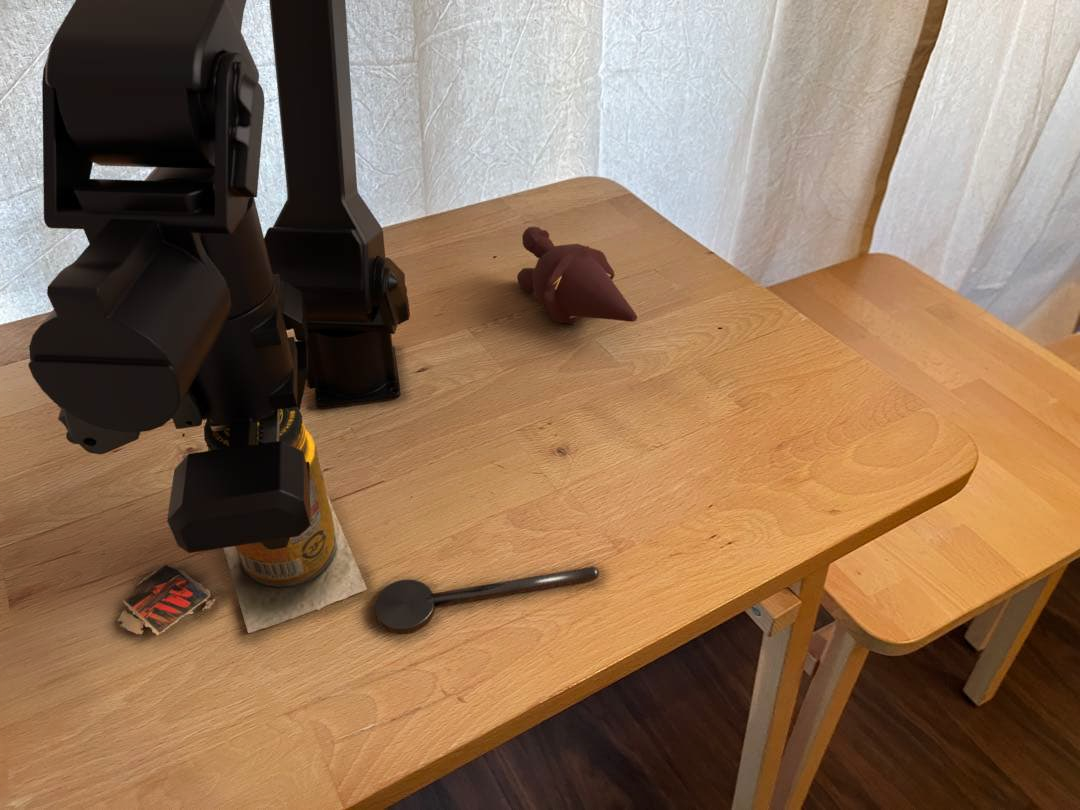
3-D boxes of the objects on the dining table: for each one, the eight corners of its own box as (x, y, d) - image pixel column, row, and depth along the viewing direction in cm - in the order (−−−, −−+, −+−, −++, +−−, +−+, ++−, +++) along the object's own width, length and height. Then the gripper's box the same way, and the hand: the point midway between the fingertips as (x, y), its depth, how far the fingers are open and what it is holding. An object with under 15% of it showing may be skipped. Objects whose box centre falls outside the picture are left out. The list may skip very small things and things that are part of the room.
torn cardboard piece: (160, 563, 56) (158, 559, 56) (225, 591, 54) (223, 586, 54) (105, 620, 53) (103, 615, 52) (172, 650, 51) (170, 646, 51)
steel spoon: (591, 554, 57) (592, 546, 56) (606, 599, 54) (606, 591, 53) (373, 590, 54) (372, 582, 54) (377, 639, 52) (376, 630, 51)
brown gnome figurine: (677, 272, 70) (560, 214, 80) (609, 281, 66) (494, 219, 76) (659, 350, 73) (549, 286, 83) (592, 364, 69) (485, 294, 79)
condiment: (327, 496, 60) (296, 363, 52) (367, 591, 54) (340, 459, 46) (219, 533, 57) (167, 400, 49) (249, 636, 52) (197, 506, 44)
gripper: (75, 212, 49) (157, 419, 59) (-12, 444, 35) (116, 660, 45) (281, 192, 50) (326, 397, 61) (275, 406, 37) (334, 623, 47)
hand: (278, 503), depth 53 cm, fingers closed on condiment, 6 cm apart
